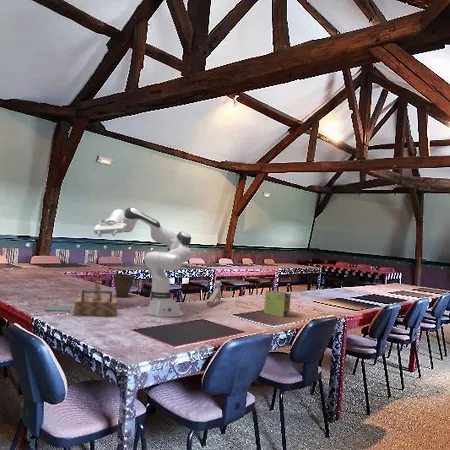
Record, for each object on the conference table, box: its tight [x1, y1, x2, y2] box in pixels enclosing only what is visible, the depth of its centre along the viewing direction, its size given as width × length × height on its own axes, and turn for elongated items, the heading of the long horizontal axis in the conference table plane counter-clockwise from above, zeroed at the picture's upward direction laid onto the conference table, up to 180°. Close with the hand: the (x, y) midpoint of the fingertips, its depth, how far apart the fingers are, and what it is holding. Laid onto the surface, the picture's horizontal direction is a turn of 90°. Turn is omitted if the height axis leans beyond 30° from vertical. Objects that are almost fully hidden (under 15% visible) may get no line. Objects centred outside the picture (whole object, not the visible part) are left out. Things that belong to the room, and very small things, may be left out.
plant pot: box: [113, 273, 135, 298], centre depth 318 cm, size 15×15×16 cm
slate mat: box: [45, 304, 73, 312], centre depth 259 cm, size 14×14×1 cm
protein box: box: [263, 290, 292, 318], centre depth 298 cm, size 10×15×16 cm
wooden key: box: [93, 280, 103, 300], centre depth 257 cm, size 4×4×15 cm
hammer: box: [205, 280, 222, 308], centre depth 317 cm, size 16×5×30 cm
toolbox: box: [73, 289, 118, 317], centre depth 254 cm, size 24×14×14 cm, turn 104°
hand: (106, 235), depth 272 cm, fingers open, 8 cm apart
